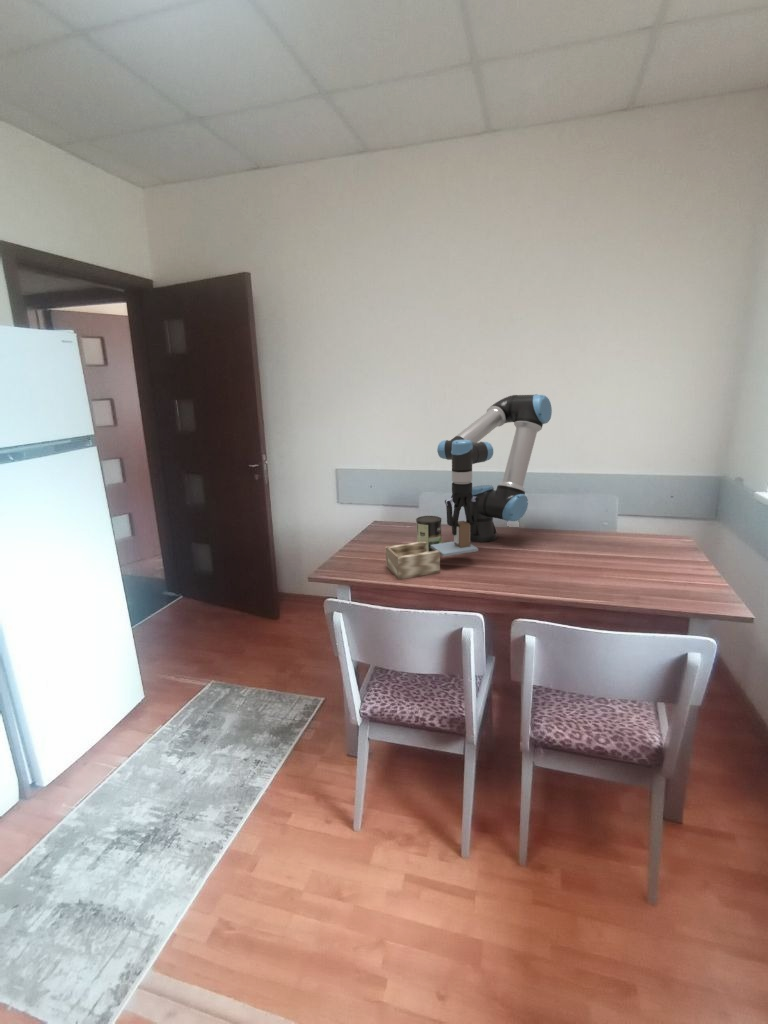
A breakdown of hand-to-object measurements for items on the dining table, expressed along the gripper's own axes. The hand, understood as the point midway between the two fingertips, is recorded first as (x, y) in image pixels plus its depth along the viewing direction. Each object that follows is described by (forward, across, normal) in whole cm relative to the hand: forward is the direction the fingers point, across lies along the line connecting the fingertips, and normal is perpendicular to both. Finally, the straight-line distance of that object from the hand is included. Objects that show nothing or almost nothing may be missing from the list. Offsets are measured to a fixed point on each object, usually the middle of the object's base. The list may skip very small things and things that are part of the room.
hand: (462, 541), depth 185 cm
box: (+8, +21, 0) cm, 22 cm away
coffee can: (+8, +7, -16) cm, 19 cm away
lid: (+3, +4, 0) cm, 4 cm away
